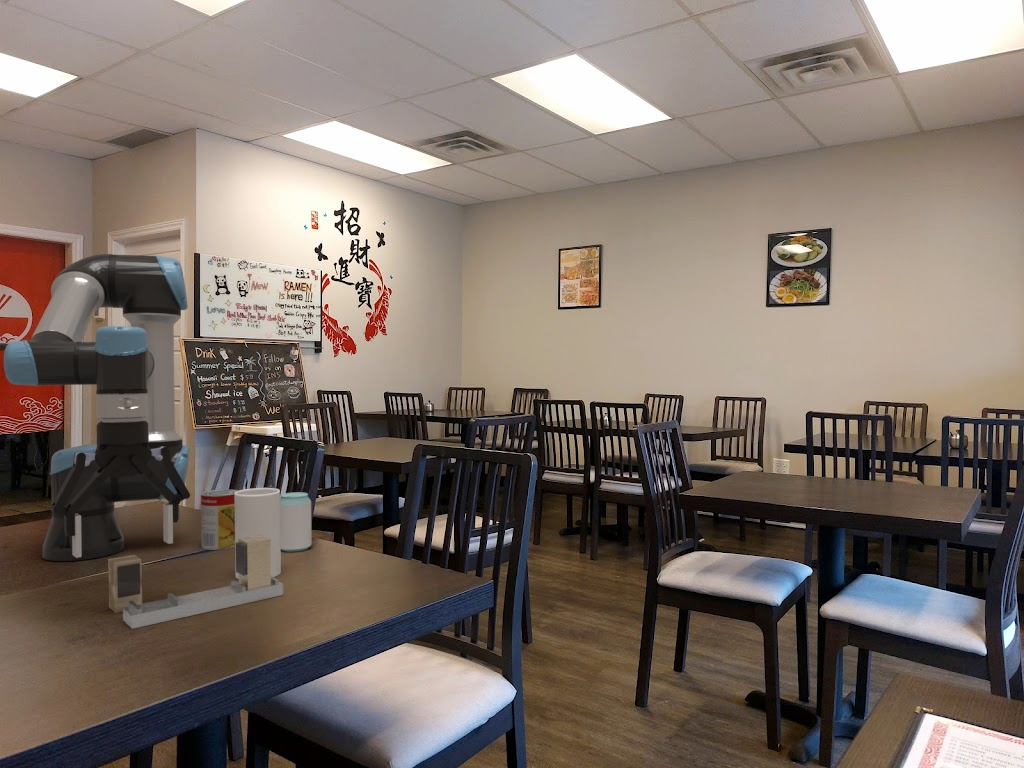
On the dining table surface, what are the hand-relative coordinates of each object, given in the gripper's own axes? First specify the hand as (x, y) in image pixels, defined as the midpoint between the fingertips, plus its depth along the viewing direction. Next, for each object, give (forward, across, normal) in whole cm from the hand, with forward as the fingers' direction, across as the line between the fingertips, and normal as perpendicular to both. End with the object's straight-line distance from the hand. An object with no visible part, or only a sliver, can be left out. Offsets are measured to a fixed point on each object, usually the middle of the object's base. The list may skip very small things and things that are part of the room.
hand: (124, 549), depth 118 cm
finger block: (+10, 0, 0) cm, 10 cm away
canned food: (+9, +27, +32) cm, 43 cm away
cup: (+10, +24, +4) cm, 26 cm away
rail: (+10, +10, -9) cm, 17 cm away
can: (+10, +38, +18) cm, 43 cm away
